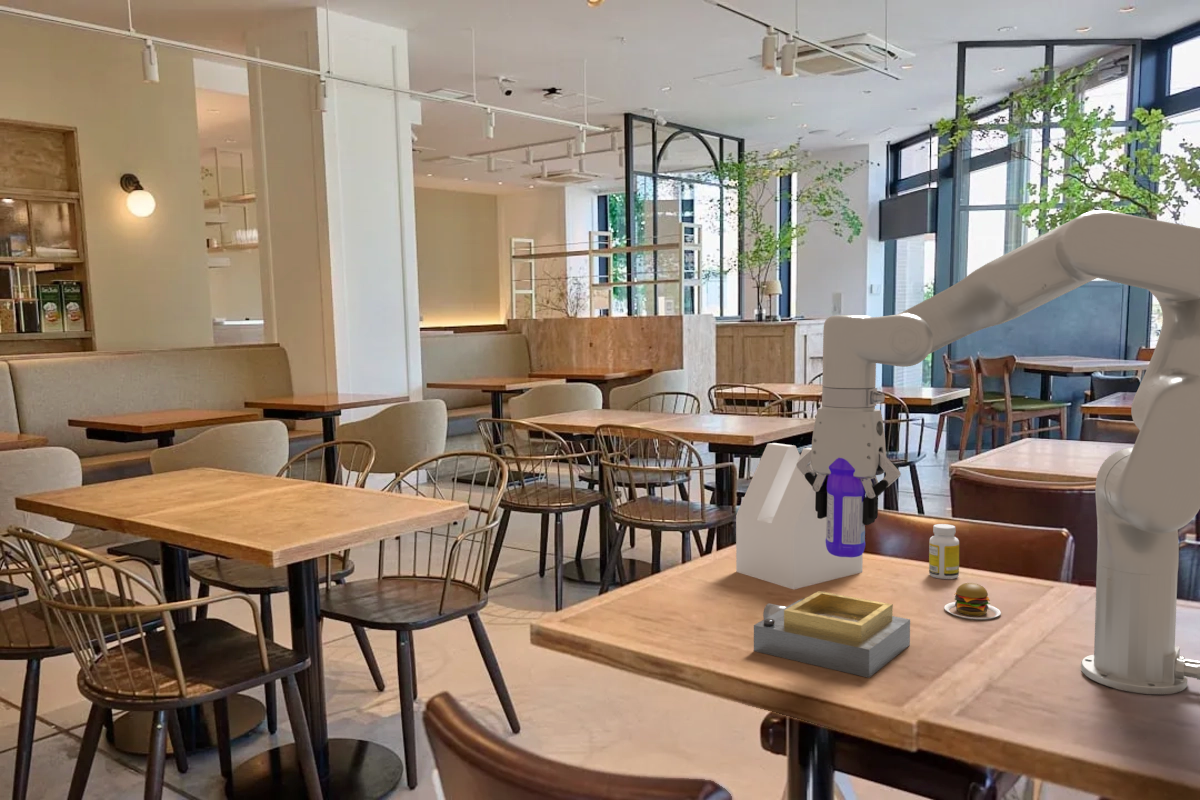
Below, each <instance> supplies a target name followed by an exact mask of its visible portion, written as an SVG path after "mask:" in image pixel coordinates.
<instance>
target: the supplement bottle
mask: <svg viewBox="0 0 1200 800" xmlns="http://www.w3.org/2000/svg"><path fill="white" fill-rule="evenodd" d="M932 527H933V529H932V530H933V531H932V533H933V534H934V535H932V536H931V537H930V538H929V543H928V545H929V547H928V548H929V549H928V550H929V551H928V556H929V557H928V560H929V561H928V572H929V573H928V574H929V575H930V576H931V577H932V578H935V579H941V580H954V579H957V578H959V575H960V540H959V538H958V537H956V536H955V535H956V526H955V525H953V524H947V523H946V524H945V523H938V524H934V525H933V526H932Z"/></svg>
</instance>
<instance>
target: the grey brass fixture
mask: <svg viewBox="0 0 1200 800" xmlns="http://www.w3.org/2000/svg"><path fill="white" fill-rule="evenodd" d="M893 610H894V608H893V604H892V603H888V602H881V601H876V600H871V599H865V598H859V597H855V596H848V595H844V594H843V595H842V594H837V593H831V592H826V591H820V590H818V591H816V592H814V593H813V594H811V595H809V596H807V597H803V598H801V599H799V600H797V601H795V602H793V603H791V604H789V605H788V606H784V605H780V604H779V605H778V604H774V603H767V604H766V605H765V606H764V608H763V613H762V614H763V615H762V616H763V619H762V620H760V621H759V622H757V623H754V625H753V651H754V652H757V653H761V654H765V655H770V656H774V657H778V658H783V659H787V660H791V661H794V662H795V661H796V662H800V663H803V664H808V665H812V666H817V667H820V668H821V667H822V668H825V669H829V670H834V671H839V672H843V673H847V674H851V675H854V676H855V675H856V676H860V677H864V678H871V677H872V676H873V675H874V674H876V673H877V672H878V671H879V670H881V669H882V668H883V667H885V665H887V664H888V663H889V662H891V661H892V660H893V659H895V657H897V656H898V655H899V654H901V653H902V652H903V651H904V650H906V649H907V648H908V647H910V645H911V619H910V618H905V617H900V616H899V617H898V616H895V615H893Z"/></svg>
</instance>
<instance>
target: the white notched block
mask: <svg viewBox="0 0 1200 800" xmlns="http://www.w3.org/2000/svg"><path fill="white" fill-rule="evenodd" d="M811 449H812V447H806V448H805V447H803V448H802V450H801V452H799V450H798V448H797V446H796V445H794V444H793V445H792V444H785V443H777V442H772V443H767V444H766V447H765V448H764V451H763V452H762V455H761V457H760V460H759V461H758V465H757V467H756V469H755V471H754V474H753V476H752V478H751V480H750V482H749V484H748V487H747V489H746V492H745V495H744V497H743V498H742V501H741V503H740V505H739V507H738V510H737V512H736V515H735V522H736V523H735V527H736V528H735V534H736V535H735V542H736V543H735V545H736V546H735V548H736V549H735V551H736V553H735V555H736V556H735V557H736V561H735V565H736V568H735V569H736V573H739V574H743V575H746V576H748V577H752V578H755V579H758V580H762V581H764V582H768V583H771V584H774V585H778V586H781V587H784V588H787V589H791V590H797V589H801V588H805V587H809V586H813V585H816V584H817V585H818V584H821V583H825V582H829V581H834V580H836V579H841V578H845V577H849V576H852V575H857V574H861V573H863V561H864V560H863V558H864V557H863V554H864V553H863V554H862V555H860V556H858V557H838V556H834V555H832V554H831V553H829V552H828V550H827V547H826V525H827V517H825V518H822V519H819V518H817V511H816V510H815V498H816V492H815V491H813V489H812V486H811V485H810V483H809V482H808V481H807V480H806V478H805V476H804V475H803V474H802V473H801V471H800V470H799V469H798V468H797V466H796V464H797V463H798V462H799V461H800V460H801V459H802V458H803V457H804V456H805V455H806V454H807V453H808V452H810V451H811ZM810 467H811V468H812V466H811V464H810ZM812 470H813V469H812ZM814 472H815V471H814ZM816 474H817V475H818V473H816Z"/></svg>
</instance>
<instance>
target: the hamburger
mask: <svg viewBox="0 0 1200 800" xmlns="http://www.w3.org/2000/svg"><path fill="white" fill-rule="evenodd" d="M953 595H954V601H953V602H949V603H947V604H945V605H944V607H943V609H944V611H946V612H948V613H950V615H952V616H955V617H958V618H963V619H968V620H978V621H980V620H981V621H982V620H992V619H994V618H997V617H1000V616H1001V614H1002V612H1001V610H1000V609H999V608H997V607H995V606H993V605H991V603H990V601H991V600H990V598H989V597H988V595H989V594H988V590H987V589H986V587H984V586H982V585H981V584H979V583H974V582H966V583H962V584H960V585H959V586H958V587H957V588H956V591H955V592H954V594H953ZM952 608H955V609H956V610H957V612H958V613H960V615H959V614H956V613H953V612H952V611H950V609H952ZM988 611H991V612H993V613H994V614H995V615H994V616H992V617H991V616H990V617H980V616H984V615H986V614H987V612H988ZM961 614H962V615H961ZM963 615H965V616H963Z"/></svg>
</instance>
